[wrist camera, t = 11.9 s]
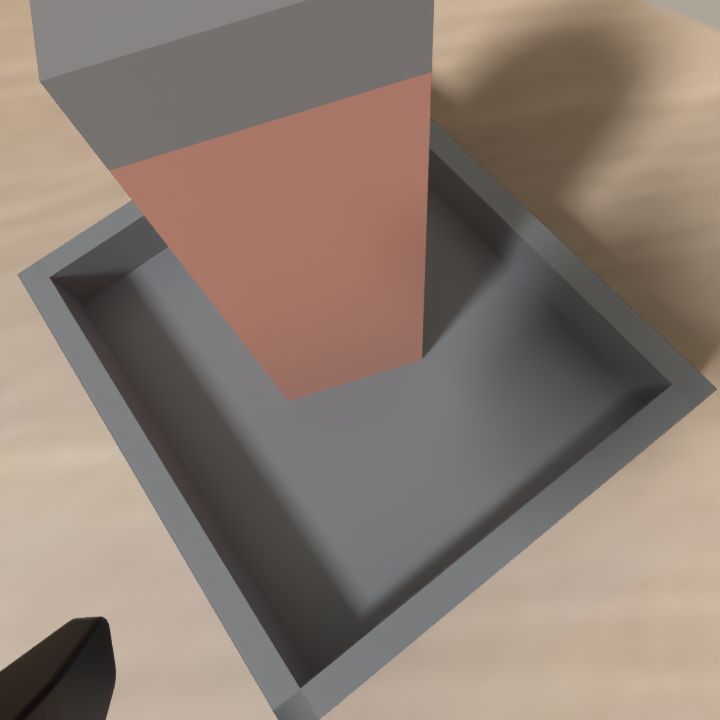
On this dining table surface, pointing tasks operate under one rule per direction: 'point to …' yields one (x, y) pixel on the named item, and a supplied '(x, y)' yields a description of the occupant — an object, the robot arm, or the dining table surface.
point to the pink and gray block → (268, 160)
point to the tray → (365, 429)
